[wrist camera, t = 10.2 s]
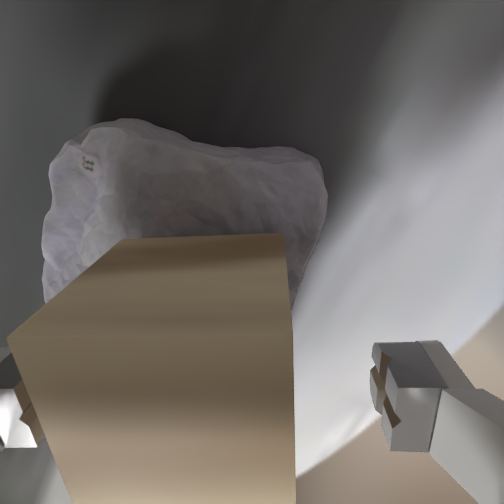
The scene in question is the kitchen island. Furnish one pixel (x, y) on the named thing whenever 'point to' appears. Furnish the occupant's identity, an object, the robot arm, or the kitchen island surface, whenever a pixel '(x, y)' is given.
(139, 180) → the stone block
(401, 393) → the robot arm
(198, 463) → the maple block
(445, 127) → the kitchen island surface
